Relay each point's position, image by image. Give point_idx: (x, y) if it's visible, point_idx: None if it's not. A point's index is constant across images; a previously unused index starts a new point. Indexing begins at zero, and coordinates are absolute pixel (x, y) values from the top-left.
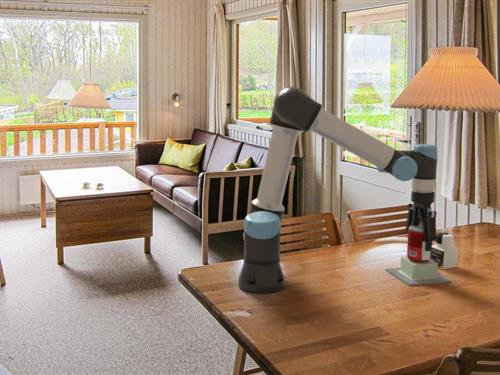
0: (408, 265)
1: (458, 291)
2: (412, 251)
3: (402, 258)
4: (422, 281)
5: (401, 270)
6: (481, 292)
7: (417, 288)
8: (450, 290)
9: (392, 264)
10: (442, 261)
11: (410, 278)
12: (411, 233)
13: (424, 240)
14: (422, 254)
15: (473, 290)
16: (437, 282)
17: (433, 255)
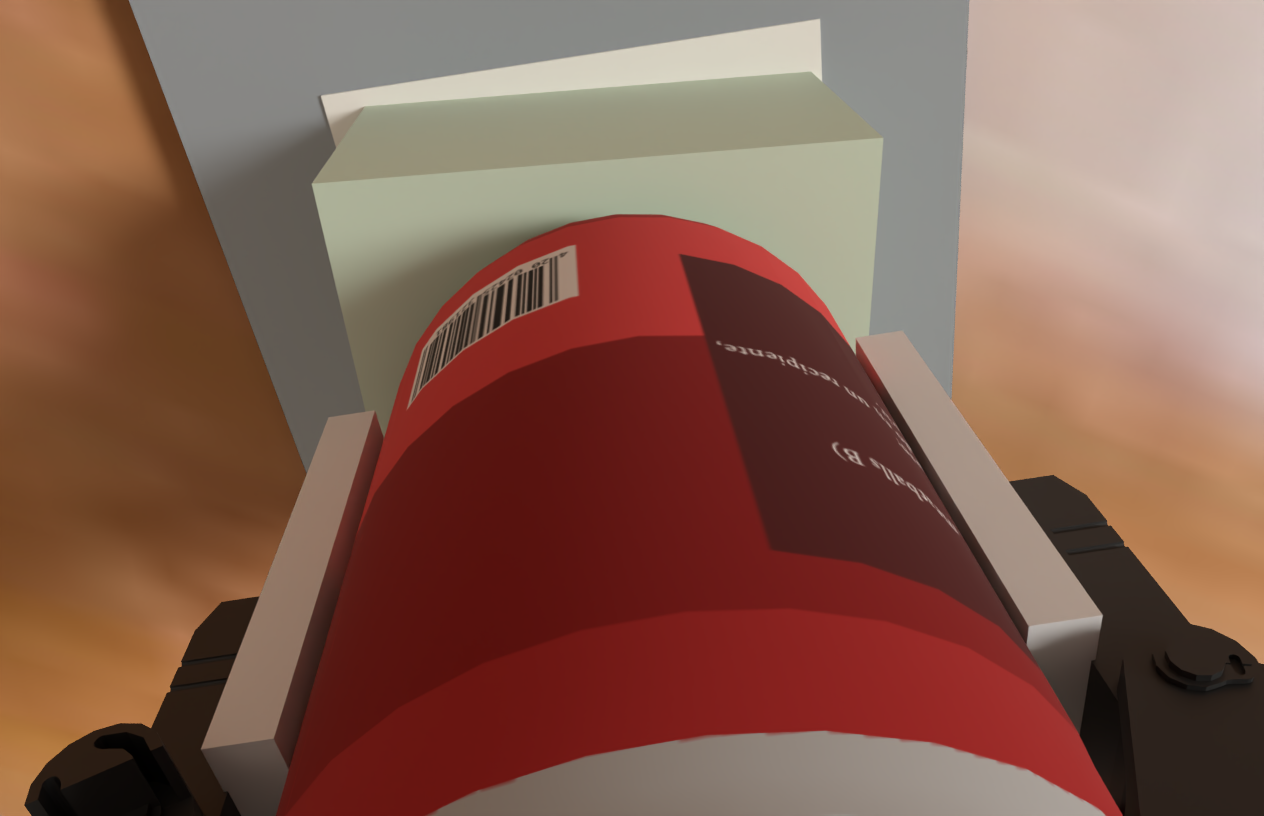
0: (520, 146)
1: (8, 544)
2: (482, 330)
3: (810, 139)
4: (272, 234)
5: (768, 77)
6: (28, 733)
7: (18, 53)
8: (27, 474)
9: (1207, 89)
10: None
11: (401, 92)
12: (538, 649)
13: (35, 787)
14: (323, 481)
15: (81, 689)
16: (297, 427)
17: None
